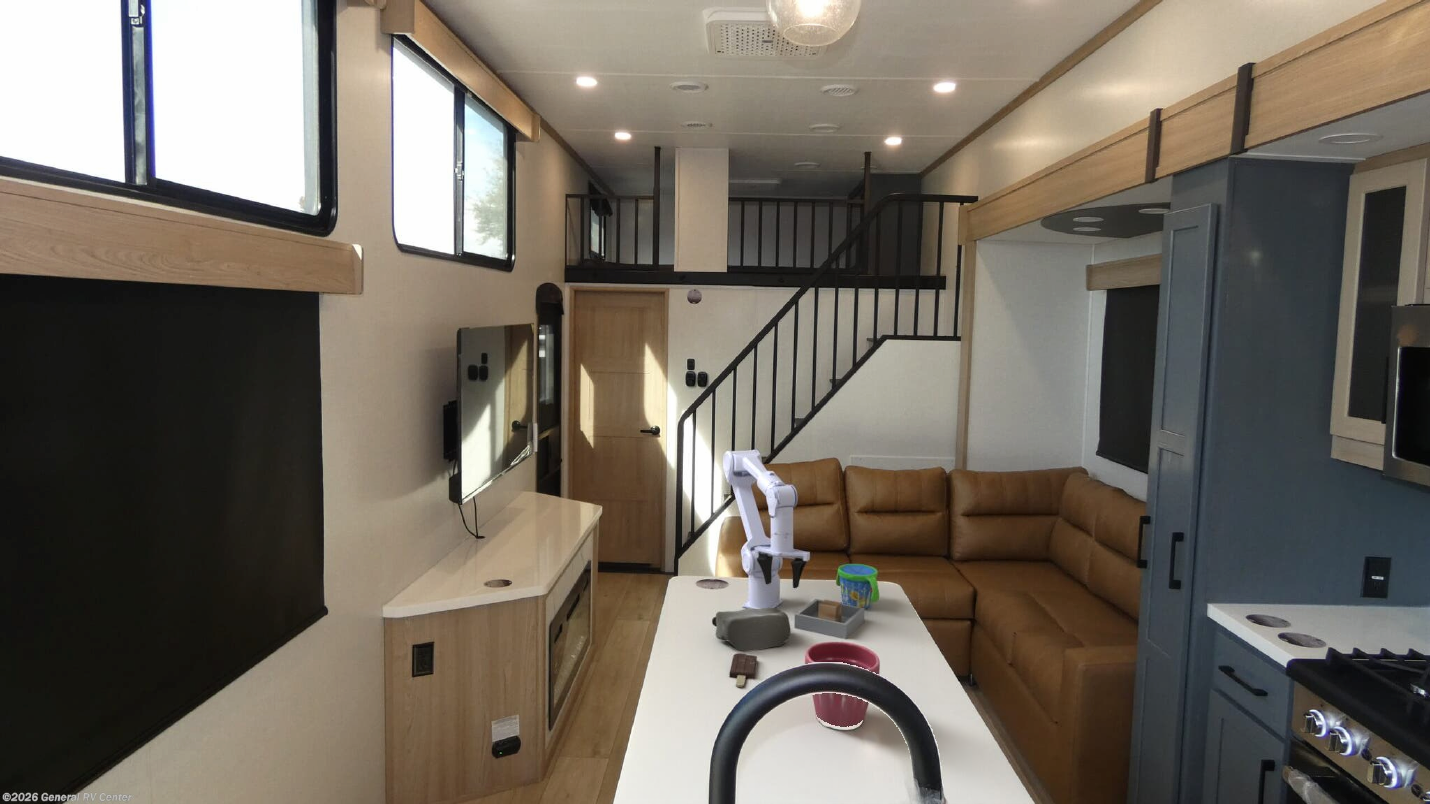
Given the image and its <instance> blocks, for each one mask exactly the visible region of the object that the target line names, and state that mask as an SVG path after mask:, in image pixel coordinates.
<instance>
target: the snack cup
mask: <svg viewBox="0 0 1430 804" xmlns="http://www.w3.org/2000/svg"><path fill="white" fill-rule="evenodd" d="M878 574H879V572H878V569H877V568H875V567H873V566H870V565H866V564H861V563H847V564H841V565H840V566H838V568H837V574H836V578H835V584H836V586H839V587H840V594H841V601H842V602H841V603H842V604H845V605H850V606H856V607H861V608H865V610H866V609H868V608H869V607H871V604H872V603H876V602H878V601H879V599H880V592H879V591H880V590H879V584H878V582H877V581H878V580H877V578H878Z"/></svg>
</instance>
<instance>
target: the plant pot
mask: <svg viewBox="0 0 1430 804" xmlns="http://www.w3.org/2000/svg"><path fill="white" fill-rule="evenodd" d="M804 658H805V659H804V665H805V664H808V663H812V662H843V663H847V664H850V665H856V666H858V667H862V668H864V669H868V670H869V671H871V672H875V673H876V674H879V675H880V670H881V669H880V668H881V667H880V666H881V665H880V664H881V663H880V662H881V661H880V658H879V656H878V655H877V653H875V652H874V651H873V650H872V649H869V648H867V647H865V646H863V645H860V644H856V643H852V642H845V641H825V642H818V643H815V644H813V645H811V646H809V647H808V648H807V650H806V651H805V657H804ZM811 695H812V694H811ZM812 700H813V706H814V710H815V711H814V712H815V716H816V715H817V717H818V718H820V719H821V720H823V721H824V722H827V723H829V724H831V725H835V726H840V727H847V726H848V727H849V726H853V725H857V724H858V723H860V722H861V721H862V720H864V721H865V718H866V715H867V711H868V707H869V705H870V704H869V703H870V702H869V703H868V702H865V701H863V700H862V699H858V698H857V697H852V696H848V695H841V694H836V693H822V694H815V695H812Z"/></svg>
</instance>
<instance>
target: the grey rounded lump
mask: <svg viewBox="0 0 1430 804" xmlns="http://www.w3.org/2000/svg"><path fill="white" fill-rule="evenodd" d="M711 623H712V625H713V626H714V627H715V628H716V629H715V637H716V638H717V639H718V640H721V641H725V642H729V643H730V644H731V645H732V646H733V647H734V648H735V649H737V650H739V651H742V652H749V651H758V650H762V649H767V648H773V647H780V646H782V645H784V644H785V643H786V642H787V640H789V638H790V636H791V623H790V618H789V616H788V614H787V613H786V612H784V611H782V610H781V609H780V608H779V609H778V608H776V607H775V608H760V609H756V608H743V609H741V610H740V609H739V610H735V611H729V610H728V611H717V612H716V613H715V616H714V617H712V620H711Z"/></svg>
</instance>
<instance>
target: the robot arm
mask: <svg viewBox="0 0 1430 804" xmlns="http://www.w3.org/2000/svg"><path fill="white" fill-rule="evenodd" d="M762 461H763V459H762V454H761V453H760V451H759V450H758V449H751V450H727V451H725V453H724V454H723V457H722V468H723V473H724V476H725V479H726V481H727V484H729V485H731V486H732V489H733V493H734V496H735V499H736V500H735V501H736V504H737V508H738V510H739V514H740V518H741V521H742V525H743V529H744V531H745V536H746V539H747V541H746V542H745V543H744V544H743V546H742V548H741V550H740V556H741V564H742V569H743V570H744V571H745V573H746V574H747V575H748V584H747V585H748V587H747V591H748V593H747V601H746V602H744V603H743V604H741V607H742V608H745V609H747V608H756V609H760V608H776V607H778V606H779V605H780V604H782V603H783V602H784V601H783V600H782V599H780V597H781V596H780V592H781V579H780V575H779V573H778V572H779V571H780V570H781V569H782V567H783V563H784V562H783V558H785V559H790V560H791V559H793V560H792V561H791V562H790V565H791V570H792V571H791V572H792V588H793V589H797V588H798V587H800V586H799V585H800V580H801V577H802V574H803V571H804V569H805V567H806V564H807V563H808V561H810V560H811V559H810V558H811V554H810V553H811V552H810V551H804V550H800V549H795V548H794V508H796V506H797V505H798V498H799V496H798V491H797V489H796V487H795V486H794V485H793V484H786V483H784V481H783V480H782V479H781V478H780V477H779V476H778V475H777V474H776V473H775V472H774V471H773V470H767V468H766V467H765V465H764V463H762ZM755 482H756V486H757V487H758V489H760V491H761V492H762V493H763V494H764V496H766V497H765V498H766V504H767V506H768V514H769V516H770V537H768V536H767V535H766V533H765V529H764V527H763V526H764V525H763V522H762V520H761V516H760V513H759V510H758V506H757V503H756V499H755V496H754V493H753V489H752V485H753V484H754V483H755Z"/></svg>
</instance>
